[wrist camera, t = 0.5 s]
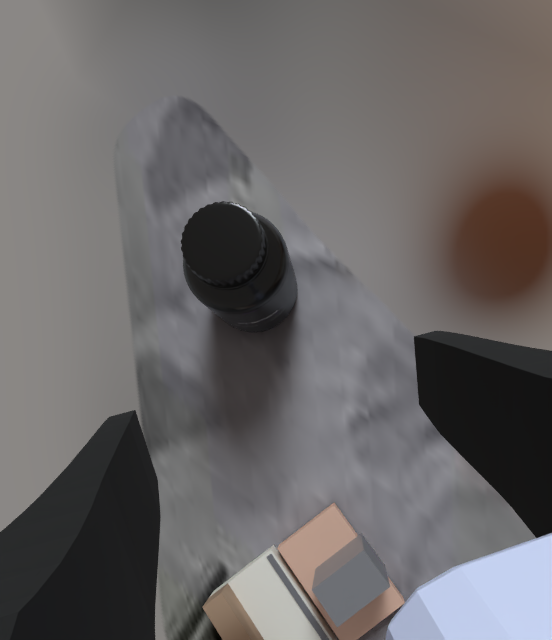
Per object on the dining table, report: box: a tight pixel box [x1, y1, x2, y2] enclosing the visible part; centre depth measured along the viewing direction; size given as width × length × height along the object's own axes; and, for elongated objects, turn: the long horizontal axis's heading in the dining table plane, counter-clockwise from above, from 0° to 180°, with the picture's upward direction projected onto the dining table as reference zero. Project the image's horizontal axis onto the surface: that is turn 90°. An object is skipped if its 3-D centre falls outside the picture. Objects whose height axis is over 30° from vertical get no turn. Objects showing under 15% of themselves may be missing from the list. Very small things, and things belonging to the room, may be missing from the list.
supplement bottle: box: [181, 201, 297, 332], centre depth 33 cm, size 7×7×12 cm
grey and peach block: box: [277, 503, 405, 640], centre depth 31 cm, size 8×5×5 cm
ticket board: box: [203, 545, 338, 640], centre depth 33 cm, size 8×6×3 cm
